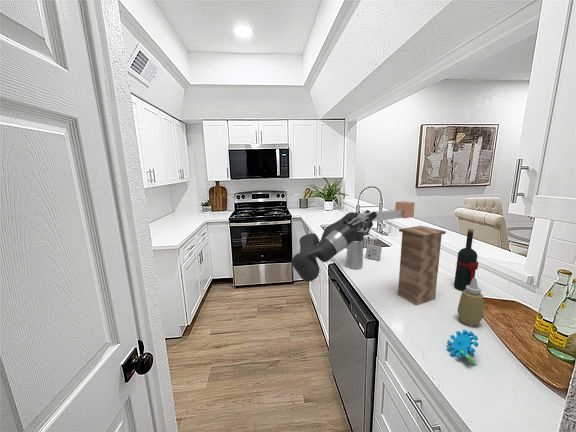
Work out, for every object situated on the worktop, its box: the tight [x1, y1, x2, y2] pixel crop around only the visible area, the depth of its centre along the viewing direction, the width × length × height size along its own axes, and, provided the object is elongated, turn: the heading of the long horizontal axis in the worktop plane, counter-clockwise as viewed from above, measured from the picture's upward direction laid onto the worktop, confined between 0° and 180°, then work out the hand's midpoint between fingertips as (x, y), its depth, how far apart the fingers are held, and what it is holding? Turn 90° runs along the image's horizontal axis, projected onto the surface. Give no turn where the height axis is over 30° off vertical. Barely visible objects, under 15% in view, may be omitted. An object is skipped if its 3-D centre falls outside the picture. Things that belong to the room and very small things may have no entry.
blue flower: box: [446, 329, 480, 367], centre depth 80 cm, size 11×6×10 cm
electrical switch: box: [364, 243, 382, 262], centre depth 165 cm, size 9×5×9 cm, turn 50°
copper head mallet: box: [357, 200, 416, 223], centre depth 99 cm, size 26×5×6 cm, turn 114°
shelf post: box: [397, 225, 447, 306], centre depth 113 cm, size 14×12×32 cm
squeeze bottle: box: [456, 277, 484, 327], centre depth 95 cm, size 8×8×18 cm
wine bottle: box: [453, 228, 479, 292], centre depth 119 cm, size 8×10×30 cm
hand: (372, 212), depth 96 cm, fingers closed on copper head mallet, 3 cm apart
